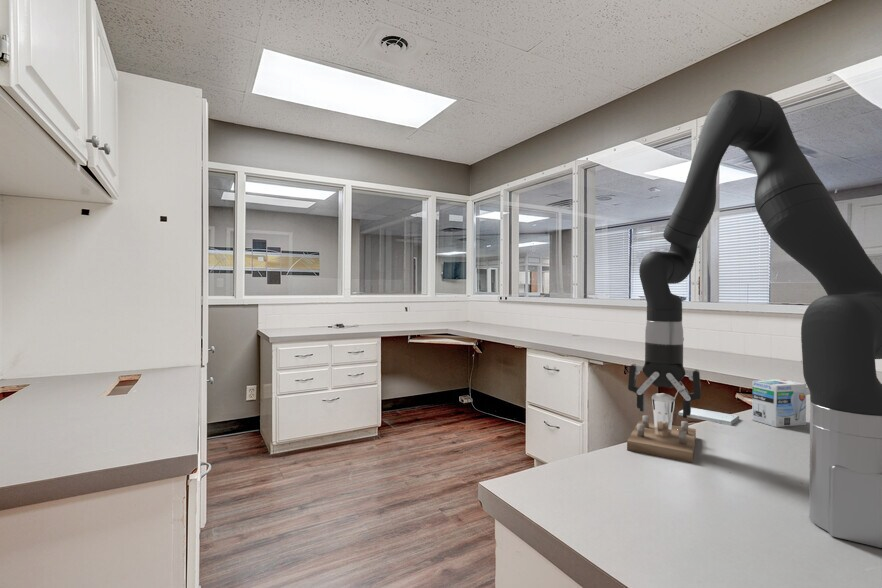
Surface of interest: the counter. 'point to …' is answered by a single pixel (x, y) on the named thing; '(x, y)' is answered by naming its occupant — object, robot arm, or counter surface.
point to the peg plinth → (663, 441)
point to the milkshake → (663, 413)
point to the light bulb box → (779, 402)
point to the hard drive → (712, 416)
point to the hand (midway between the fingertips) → (663, 413)
